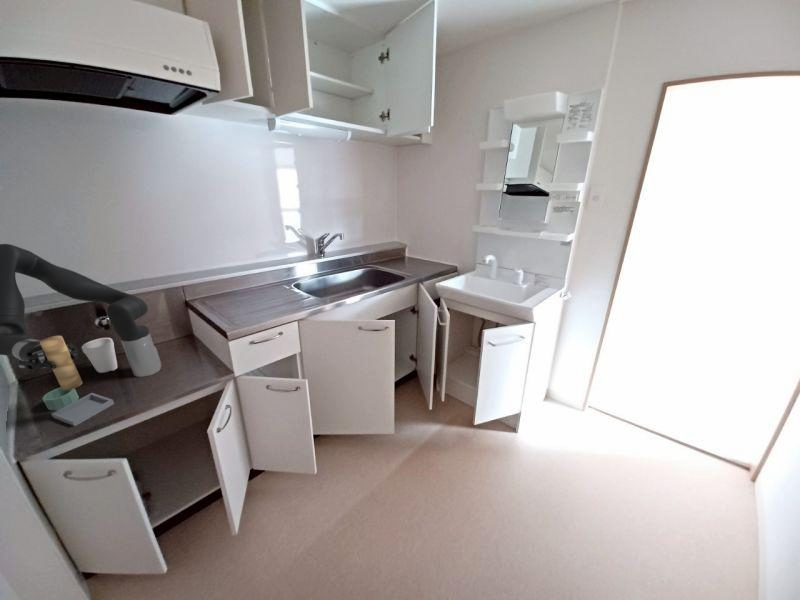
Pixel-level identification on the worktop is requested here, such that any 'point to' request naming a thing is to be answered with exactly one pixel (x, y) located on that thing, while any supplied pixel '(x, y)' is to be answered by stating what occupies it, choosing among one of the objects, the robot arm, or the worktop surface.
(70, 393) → the holder pot
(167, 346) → the worktop surface
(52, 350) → the wooden dowel
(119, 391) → the worktop surface
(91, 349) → the foam cup
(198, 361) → the worktop surface
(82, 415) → the tray
